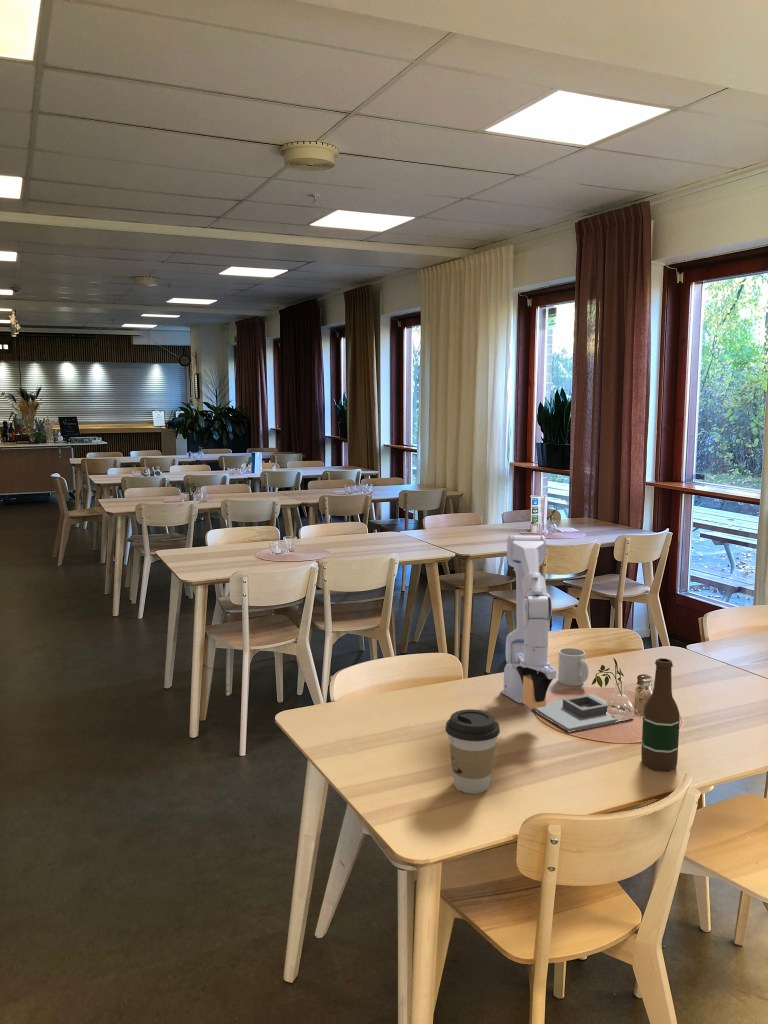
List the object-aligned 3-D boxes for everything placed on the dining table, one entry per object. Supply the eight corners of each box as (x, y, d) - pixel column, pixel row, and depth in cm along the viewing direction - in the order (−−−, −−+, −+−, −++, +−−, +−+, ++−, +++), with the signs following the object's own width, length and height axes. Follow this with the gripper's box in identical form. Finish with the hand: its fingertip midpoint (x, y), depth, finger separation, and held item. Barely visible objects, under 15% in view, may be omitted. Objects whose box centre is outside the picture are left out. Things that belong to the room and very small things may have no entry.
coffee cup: (435, 779, 173) (435, 712, 171) (481, 769, 177) (482, 704, 175) (460, 803, 163) (461, 732, 160) (509, 792, 167) (511, 723, 165)
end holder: (531, 709, 211) (531, 698, 211) (593, 697, 219) (593, 687, 219) (568, 732, 197) (568, 720, 196) (633, 719, 205) (634, 708, 204)
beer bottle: (672, 775, 175) (678, 668, 171) (636, 766, 179) (641, 661, 175) (680, 761, 181) (686, 658, 178) (645, 753, 185) (650, 652, 182)
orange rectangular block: (522, 702, 200) (523, 675, 199) (536, 700, 201) (537, 673, 200) (531, 708, 196) (532, 681, 195) (545, 706, 198) (546, 678, 197)
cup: (571, 676, 236) (572, 646, 235) (596, 686, 227) (597, 656, 226) (552, 680, 232) (553, 650, 231) (577, 691, 224) (578, 660, 223)
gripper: (505, 637, 202) (504, 690, 204) (539, 655, 188) (537, 711, 190) (529, 634, 204) (528, 686, 206) (564, 651, 191) (562, 706, 193)
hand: (534, 697), depth 199 cm, fingers closed on orange rectangular block, 4 cm apart
